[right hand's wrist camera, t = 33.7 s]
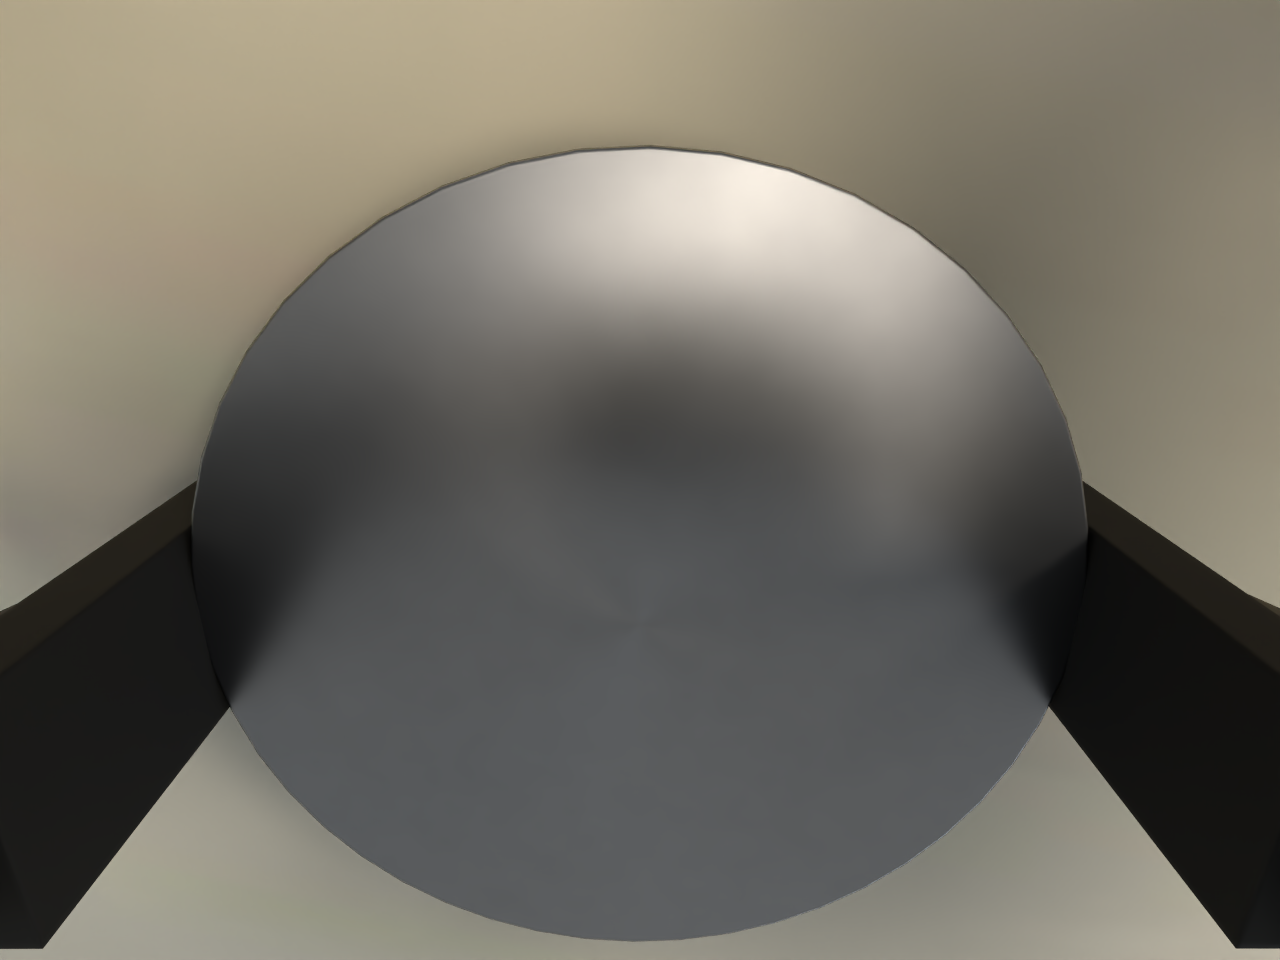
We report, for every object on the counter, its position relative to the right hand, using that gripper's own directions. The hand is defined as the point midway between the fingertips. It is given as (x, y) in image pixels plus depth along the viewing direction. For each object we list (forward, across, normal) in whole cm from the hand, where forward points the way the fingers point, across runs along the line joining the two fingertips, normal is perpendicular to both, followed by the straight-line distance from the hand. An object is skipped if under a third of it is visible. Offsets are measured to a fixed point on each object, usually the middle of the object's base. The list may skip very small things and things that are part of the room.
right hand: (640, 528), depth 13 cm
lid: (-3, 0, 0) cm, 3 cm away
